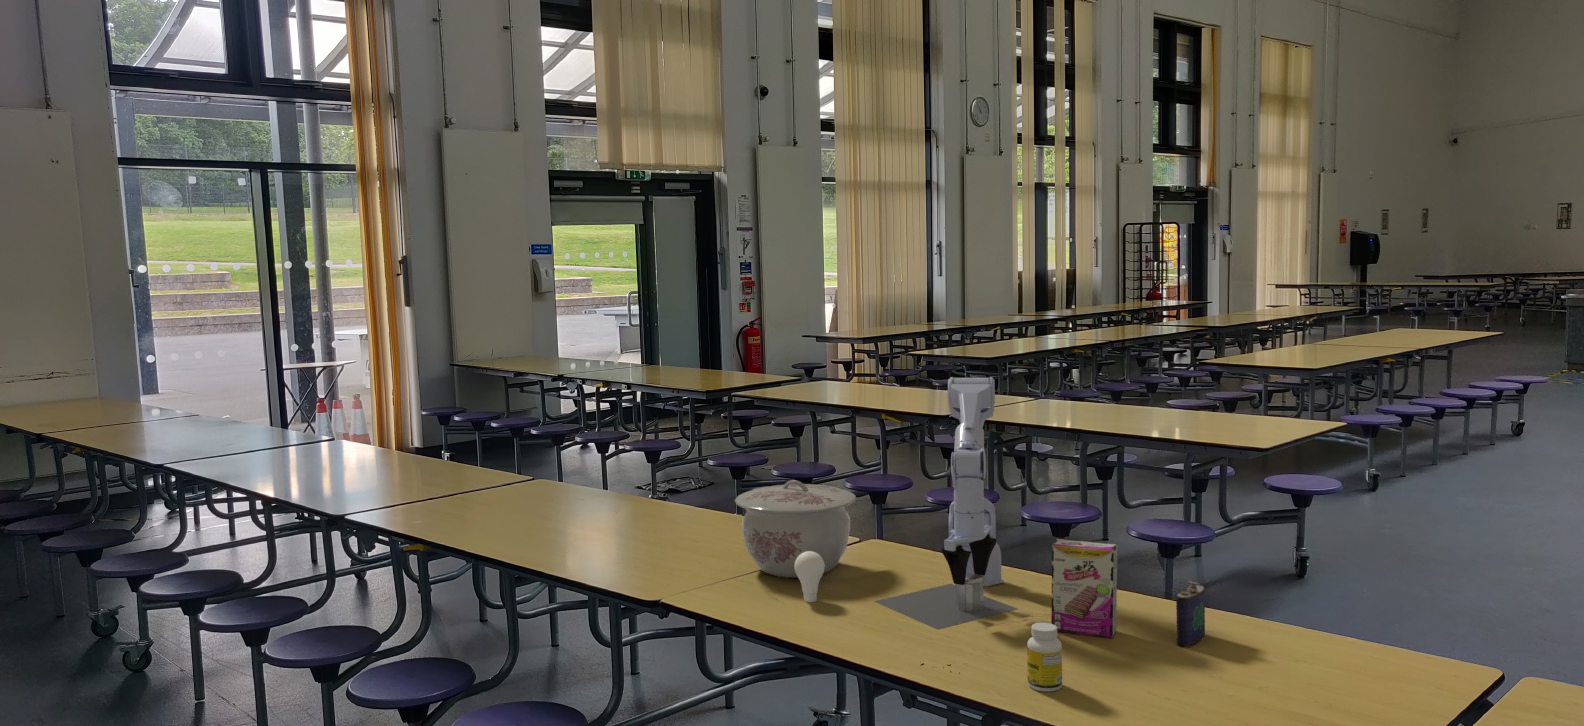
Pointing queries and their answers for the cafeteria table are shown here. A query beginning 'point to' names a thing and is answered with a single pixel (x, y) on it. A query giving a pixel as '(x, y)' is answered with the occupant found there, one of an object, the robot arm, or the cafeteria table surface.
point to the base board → (940, 607)
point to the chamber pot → (795, 525)
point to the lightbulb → (809, 573)
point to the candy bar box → (1084, 587)
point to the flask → (1190, 615)
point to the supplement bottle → (1044, 658)
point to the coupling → (970, 594)
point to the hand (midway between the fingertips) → (969, 579)
